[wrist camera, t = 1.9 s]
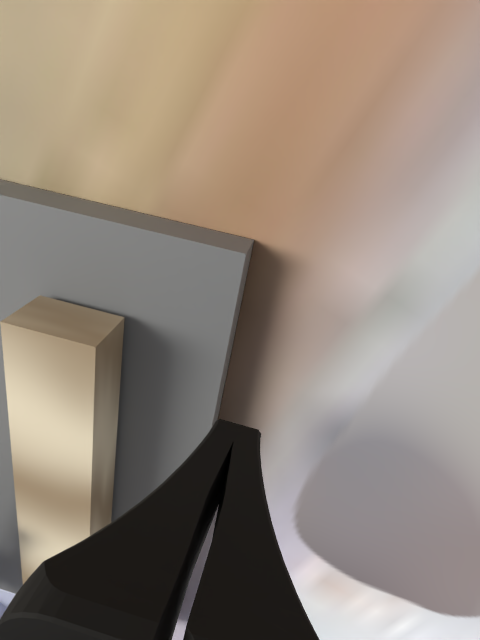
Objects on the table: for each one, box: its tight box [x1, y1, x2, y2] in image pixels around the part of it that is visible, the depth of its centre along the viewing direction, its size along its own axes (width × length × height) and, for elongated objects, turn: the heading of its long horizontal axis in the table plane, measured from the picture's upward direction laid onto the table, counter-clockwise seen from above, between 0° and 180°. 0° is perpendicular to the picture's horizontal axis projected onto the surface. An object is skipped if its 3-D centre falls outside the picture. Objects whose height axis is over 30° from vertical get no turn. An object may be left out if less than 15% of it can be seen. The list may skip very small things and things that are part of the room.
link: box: [0, 295, 124, 584], centre depth 17 cm, size 17×4×3 cm, turn 169°
